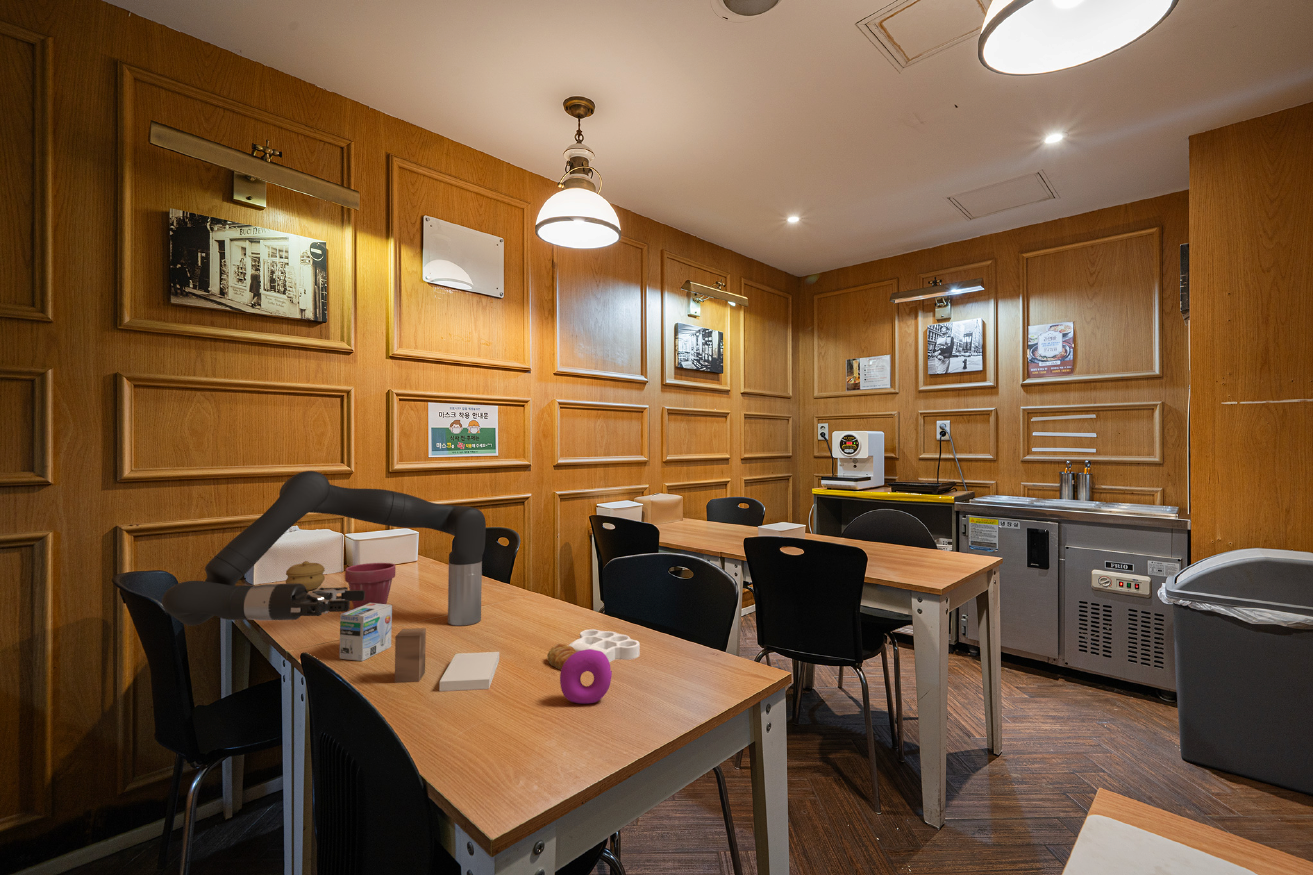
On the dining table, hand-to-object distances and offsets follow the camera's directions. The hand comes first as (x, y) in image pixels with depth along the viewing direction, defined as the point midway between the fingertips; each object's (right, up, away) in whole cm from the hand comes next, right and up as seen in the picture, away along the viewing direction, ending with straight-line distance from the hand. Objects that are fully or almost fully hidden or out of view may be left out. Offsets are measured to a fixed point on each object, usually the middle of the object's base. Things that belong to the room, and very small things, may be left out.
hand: (357, 600), depth 122 cm
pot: (-58, -18, +75) cm, 97 cm away
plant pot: (-25, -18, +55) cm, 63 cm away
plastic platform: (+24, -18, +3) cm, 30 cm away
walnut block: (+11, -17, +1) cm, 21 cm away
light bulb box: (-6, -18, +16) cm, 25 cm away
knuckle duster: (+52, -19, +19) cm, 58 cm away
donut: (+51, -18, -9) cm, 55 cm away
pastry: (+44, -18, +11) cm, 48 cm away
